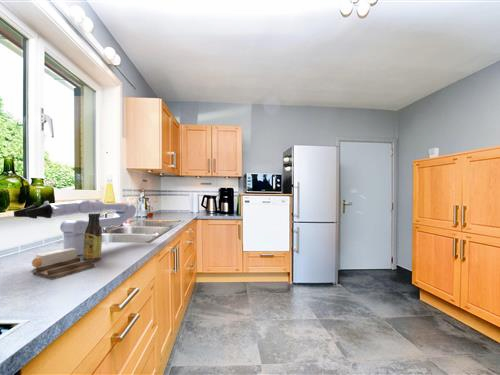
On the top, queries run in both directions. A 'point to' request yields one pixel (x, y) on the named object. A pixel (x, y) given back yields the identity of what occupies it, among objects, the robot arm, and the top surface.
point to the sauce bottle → (93, 238)
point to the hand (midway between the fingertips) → (20, 213)
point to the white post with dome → (54, 257)
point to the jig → (63, 268)
